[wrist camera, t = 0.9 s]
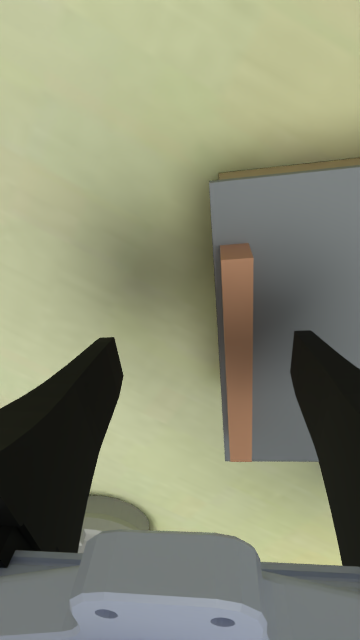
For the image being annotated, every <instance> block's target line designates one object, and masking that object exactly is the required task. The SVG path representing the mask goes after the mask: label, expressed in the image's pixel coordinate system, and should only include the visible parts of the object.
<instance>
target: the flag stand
mask: <svg viewBox="0 0 360 640" xmlns="http://www.w3.org/2000/svg"><path fill="white" fill-rule="evenodd" d="M118 529H125V530H149V521H148V519H147V517H146V516H145V514H144V513H143V512H142V511H140V510H139V509H138V508H136V507H135V506H133V505H132V504H129V503H127V502H125V501H122V500H119V499H116V498H112V497H107V496H89V497H88V501H87V506H86V511H85V516H84V521H83V526H82V531H81V537H80V543H79V549H78V553H83V552H84V549H85V546H86V542H87V541H88V540H90V539H91V538H93V537H94V536H96V535H97V534H99V533H100V532H102V531H109V530H118Z"/></svg>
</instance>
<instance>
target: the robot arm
mask: <svg viewBox="0 0 360 640" xmlns="http://www.w3.org/2000/svg"><path fill="white" fill-rule="evenodd" d="M290 374H291V379H292V384H293V388H294V392H295V396H296V399H297V401H298V404H299V407H300V409H301V412H302V415H303V417H304V420H305V423H306V425H307V428H308V431H309V433H310V436H311V439H312V441H313V444H314V447H315V450H316V453H317V457H318V460H319V464H320V468H321V472H322V476H323V480H324V484H325V488H326V492H327V496H328V500H329V505H330V509H331V513H332V518H333V522H334V527H335V531H336V536H337V541H338V545H339V550H340V555H341V560H342V565H343V566H335V565H314V564H293V563H272V562H260V558H259V556H258V554H257V552H256V550H255V548H254V547H252V546H251V545H250V544H248V543H246V542H245V541H243V540H241V539H239V538H237V537H235V536H230V535H224V534H218V533H203V532H177V531H151V530H125V529H118V530H109V531H102V532H100V533H99V534H97V535H96V536H94V537H93V538H91V539H90V540H88V541H87V542H86V546H85V549H84V552H83V553H78V549H79V543H80V537H81V531H82V526H83V521H84V516H85V511H86V506H87V501H88V497H89V492H90V488H91V483H92V479H93V475H94V471H95V467H96V463H97V459H98V455H99V451H100V448H101V445H102V442H103V439H104V437H105V434H106V431H107V429H108V426H109V423H110V420H111V418H112V415H113V412H114V409H115V407H116V404H117V401H118V398H119V394H120V390H121V385H122V380H123V372H122V368H121V364H120V359H119V355H118V351H117V347H116V343H115V339H114V337H108V338H99V339H98V340H96V341H95V342H94V343H93V344H91V345H90V346H89V347H88V348H87V349H85V350H84V351H83V352H82V353H81V354H80V355H78V356H77V357H76V358H75V359H74V360H72V361H71V362H70V363H69V364H68V365H66V366H65V367H64V368H62V369H61V370H60V371H58V372H57V373H56V374H55V375H53V376H52V377H51V378H49V379H48V380H47V381H45V382H44V383H42V384H41V385H39V386H38V387H36V388H35V389H33V390H32V391H30V392H29V393H27V394H25V395H24V396H22V397H20V398H19V399H17V400H15V401H13V402H11V403H10V404H8V405H6V406H4V407H2V408H1V409H0V640H360V369H359V368H357V367H356V366H355V365H353V364H352V363H351V362H349V361H348V360H347V359H345V358H344V357H343V356H341V355H340V354H339V353H338V352H336V351H335V350H334V349H333V348H332V347H330V346H329V345H328V344H327V343H326V342H324V341H323V340H322V339H321V338H320V337H318V336H317V335H316V334H315V333H314V332H312V331H311V330H304V331H294V338H293V348H292V358H291V368H290Z"/></svg>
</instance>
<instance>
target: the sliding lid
mask: <svg viewBox="0 0 360 640" xmlns="http://www.w3.org/2000/svg"><path fill="white" fill-rule="evenodd" d="M209 189H210V206H211V223H212V240H213V258H214V275H215V292H216V309H217V326H218V344H219V361H220V378H221V395H222V413H223V430H224V447H225V461H230V462H252V461H297V462H319V460H318V457H317V453H316V450H315V447H314V444H313V441H312V439H311V436H310V433H309V431H308V428H307V425H306V423H305V420H304V417H303V415H302V412H301V409H300V407H299V404H298V401H297V399H296V396H295V392H294V388H293V384H292V379H291V374H290V368H291V358H292V348H293V338H294V331H304V330H311V331H312V332H314V333H315V334H316V335H317V336H318V337H320V338H321V339H322V340H323V341H324V342H326V343H327V344H328V345H329V346H330V347H332V348H333V349H334V350H335V351H336V352H338V353H339V354H340V355H341V356H343V357H344V358H345V359H347V360H348V361H349V362H351V363H352V364H353V365H355V366H356V367H357V368H359V369H360V165H354V166H344V167H335V168H326V169H316V170H307V171H297V172H288V173H278V174H269V175H260V176H250V177H241V178H231V179H222V180H213V181H209Z"/></svg>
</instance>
